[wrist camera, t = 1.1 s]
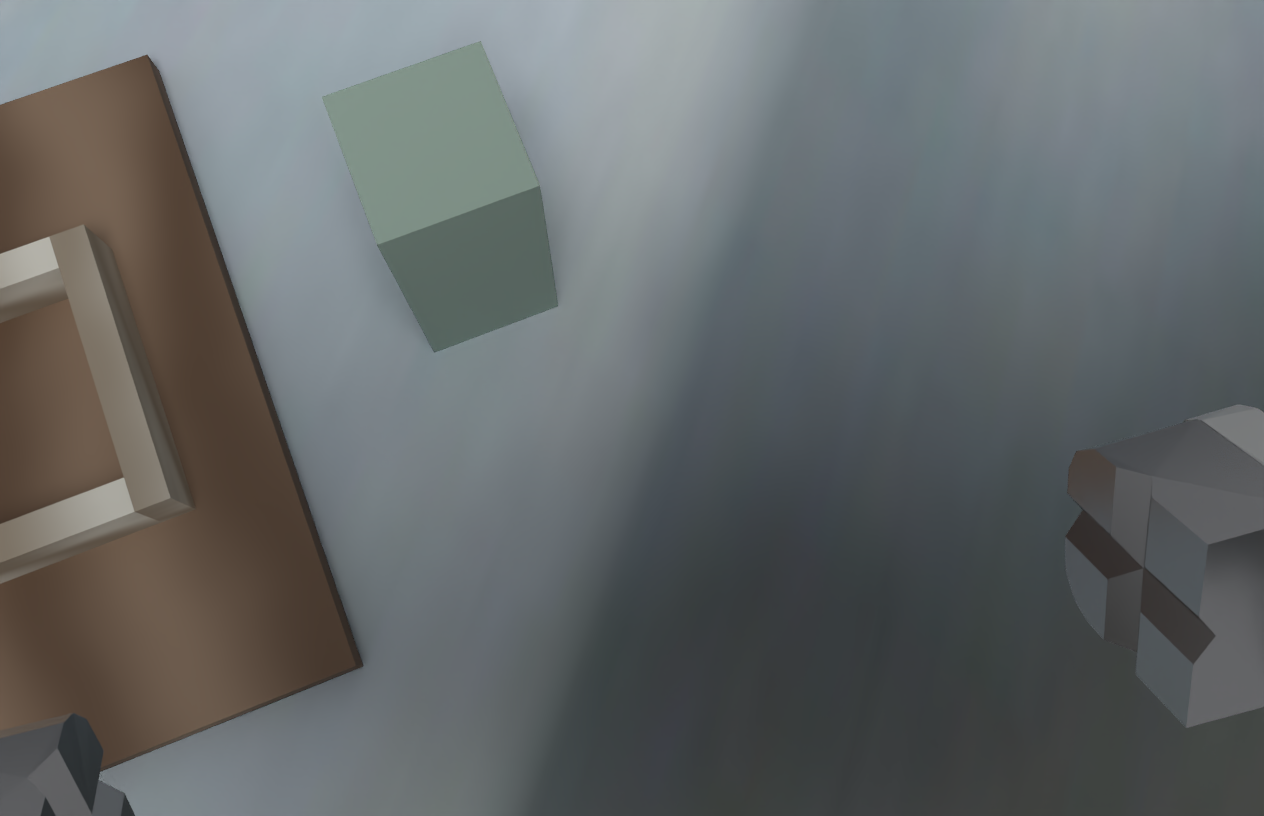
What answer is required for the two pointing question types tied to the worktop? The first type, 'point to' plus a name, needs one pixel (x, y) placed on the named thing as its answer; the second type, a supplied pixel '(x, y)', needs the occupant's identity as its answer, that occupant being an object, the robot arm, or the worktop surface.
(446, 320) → the green block
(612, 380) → the worktop surface
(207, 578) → the walnut board
